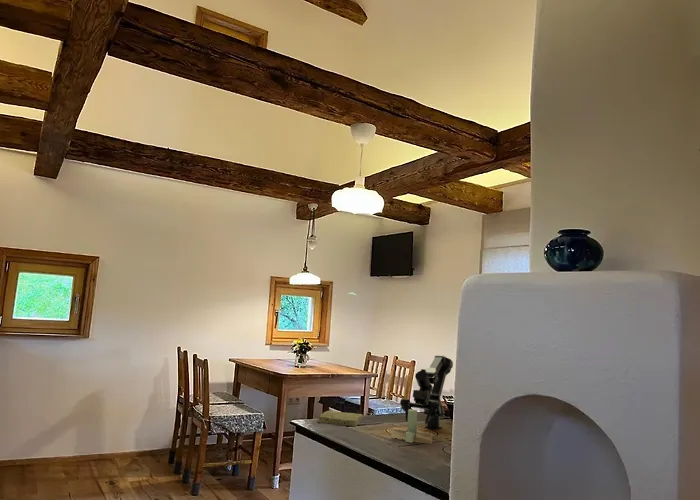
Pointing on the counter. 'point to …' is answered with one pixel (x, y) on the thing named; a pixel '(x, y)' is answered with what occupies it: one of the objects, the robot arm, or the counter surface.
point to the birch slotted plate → (419, 437)
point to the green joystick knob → (411, 426)
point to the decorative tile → (340, 418)
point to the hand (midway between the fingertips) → (415, 422)
